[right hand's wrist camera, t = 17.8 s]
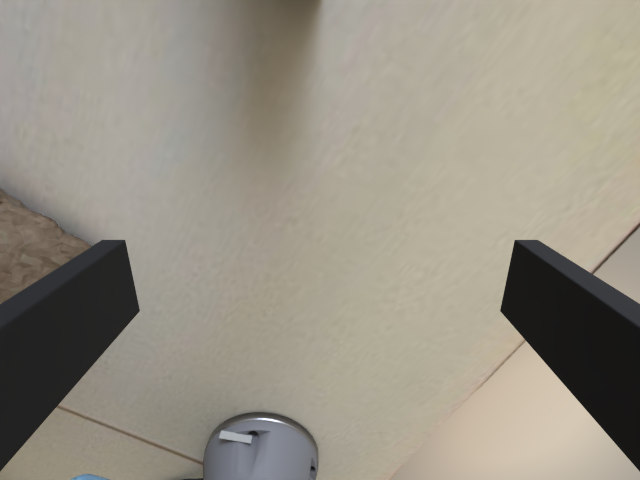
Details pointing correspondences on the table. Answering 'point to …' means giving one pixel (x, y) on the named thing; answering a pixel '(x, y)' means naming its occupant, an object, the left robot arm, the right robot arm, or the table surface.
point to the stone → (30, 246)
